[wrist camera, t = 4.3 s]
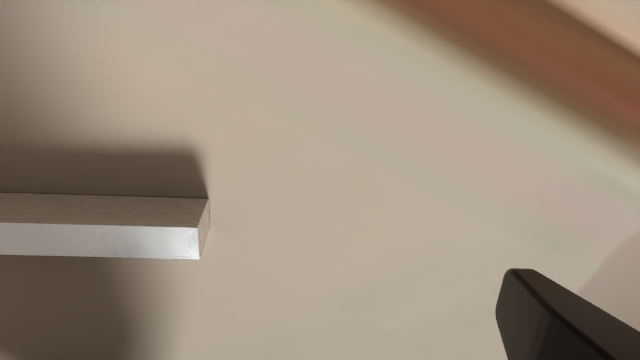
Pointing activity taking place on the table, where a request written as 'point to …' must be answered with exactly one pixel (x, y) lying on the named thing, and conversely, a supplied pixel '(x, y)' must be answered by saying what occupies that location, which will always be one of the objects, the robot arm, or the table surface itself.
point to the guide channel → (103, 226)
